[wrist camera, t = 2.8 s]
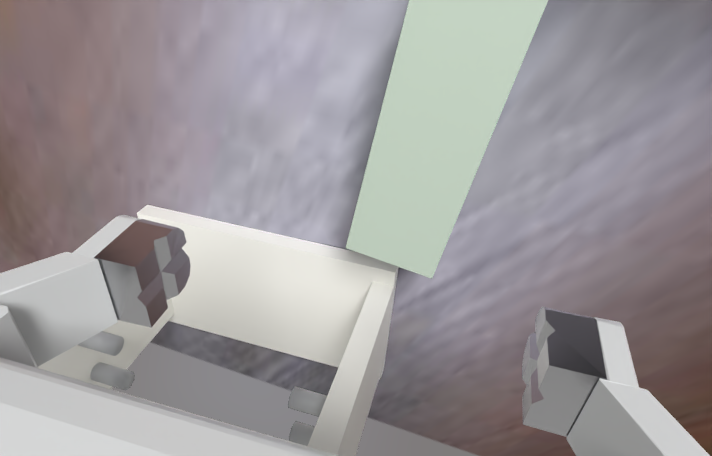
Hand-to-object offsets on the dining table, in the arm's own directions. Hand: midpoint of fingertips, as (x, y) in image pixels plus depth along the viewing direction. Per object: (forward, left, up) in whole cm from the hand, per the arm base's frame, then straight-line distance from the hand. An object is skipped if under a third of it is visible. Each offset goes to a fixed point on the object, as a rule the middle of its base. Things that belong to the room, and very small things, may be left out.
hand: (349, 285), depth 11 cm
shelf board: (0, 0, -14) cm, 14 cm away
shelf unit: (+9, +14, -13) cm, 21 cm away
